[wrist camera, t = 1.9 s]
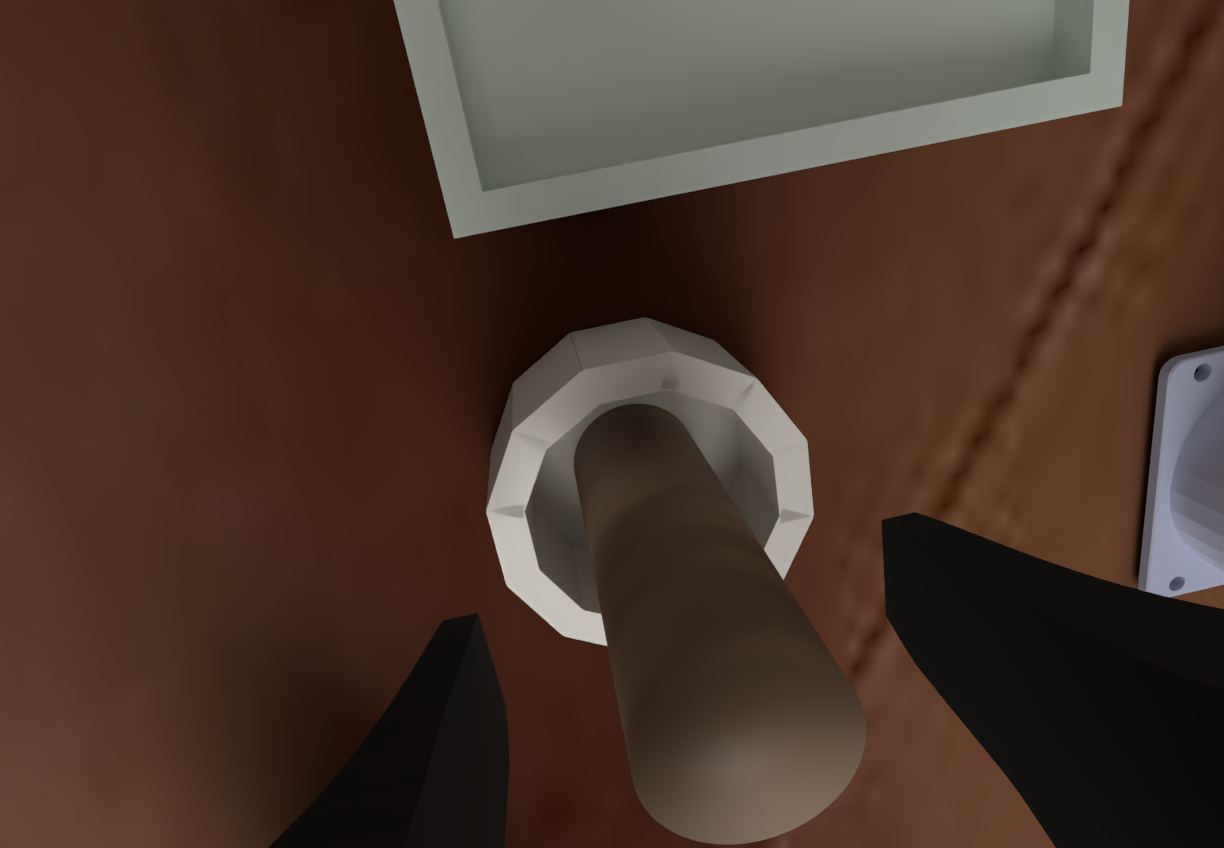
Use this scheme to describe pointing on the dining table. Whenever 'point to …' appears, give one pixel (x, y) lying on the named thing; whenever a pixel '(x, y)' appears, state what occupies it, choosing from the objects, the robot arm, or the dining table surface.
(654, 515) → the dowel
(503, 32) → the tray
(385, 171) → the dining table surface
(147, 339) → the dining table surface
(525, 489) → the cup
